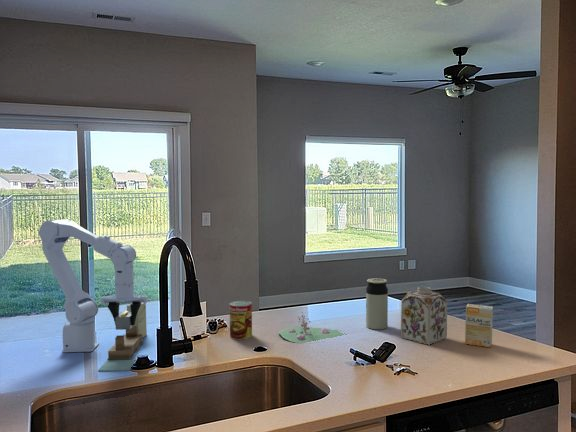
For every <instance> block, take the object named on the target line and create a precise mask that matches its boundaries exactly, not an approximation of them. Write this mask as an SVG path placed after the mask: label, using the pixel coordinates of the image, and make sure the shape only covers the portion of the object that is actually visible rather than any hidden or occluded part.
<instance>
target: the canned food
mask: <svg viewBox="0 0 576 432" xmlns="http://www.w3.org/2000/svg"><path fill="white" fill-rule="evenodd" d="M252 305H253V302H251V301H249V300H236V301H231V302H229V338H230V339H231V340H249V339H250V338H253V309H252V308H253V306H252Z"/></svg>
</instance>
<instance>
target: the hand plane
mask: <svg viewBox="0 0 576 432" xmlns="http://www.w3.org/2000/svg"><path fill="white" fill-rule="evenodd" d="M114 339H115V340H114V342H115V343H114V344H113V345H112V346H111V348H110V349H108V351H107V360H106V361H108V360H133V357H134V356H135V355H136V353H137V352H138V350H140V347H142V345H143V343H144V341H143V338H142V334H137V326H133V327H132V328H131V329H125V334H122V335H117V336H116V337H115V338H114Z"/></svg>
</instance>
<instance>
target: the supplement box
mask: <svg viewBox="0 0 576 432" xmlns="http://www.w3.org/2000/svg"><path fill="white" fill-rule="evenodd" d="M493 316H494V306H490V305H480V304H472V303H467V304H466V307H465V333H464V334H465V335H464V337H465V338H464V344H465V345H467V344H469V346H475V345H477V346H476V347H483V346H484V348H489V347H490V348H492V345H493V323H494V321H493V320H494V317H493Z"/></svg>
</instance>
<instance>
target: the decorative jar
mask: <svg viewBox="0 0 576 432" xmlns="http://www.w3.org/2000/svg"><path fill="white" fill-rule="evenodd" d="M447 335H448V301H447V299H445V297H444V296H443V295H441V293H440V292H437V291H432V288H431V287H428V286H418V287H417V288H416V290H412V291H408V292H407V293H406V294H405V295H404V296H403V298H402V299H401V310H400V337H401V339H404V338H405V339H404V340H407V339H409V340H408V341H411V340H413V341H412V342H415V341H417V342H416V343H418V342H421V343H420V344H422V343H424V344H423V345H425V344H428V345H427V346H431V345H433V344H432V343H434V344H436V343H439V342H441V341H444V340H447V337H448V336H447ZM443 339H444V340H443ZM438 341H439V342H438ZM435 342H436V343H435ZM430 344H431V345H430Z"/></svg>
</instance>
